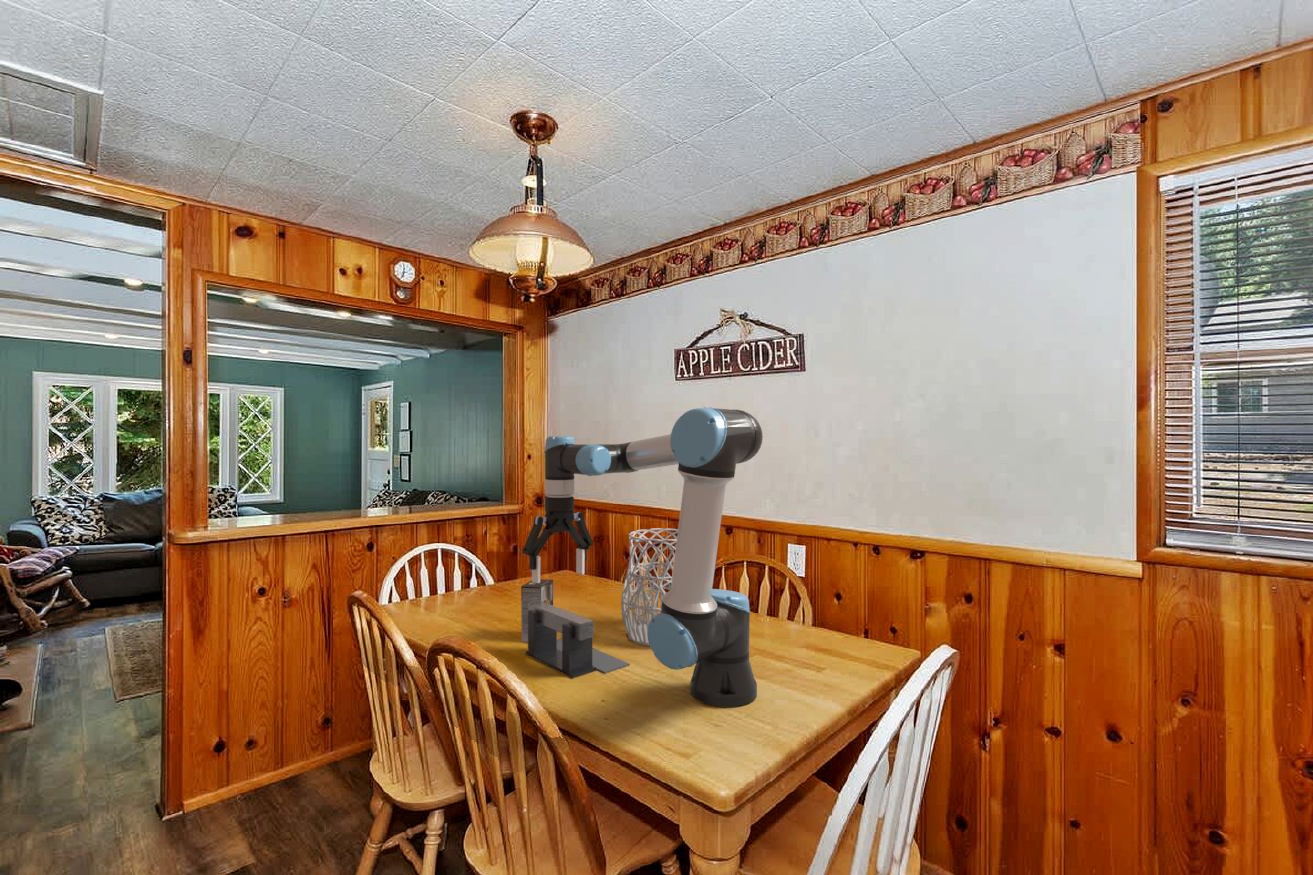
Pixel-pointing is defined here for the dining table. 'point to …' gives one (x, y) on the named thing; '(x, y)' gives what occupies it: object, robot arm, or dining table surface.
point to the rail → (563, 620)
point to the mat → (601, 660)
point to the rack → (544, 649)
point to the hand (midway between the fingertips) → (558, 577)
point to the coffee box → (534, 600)
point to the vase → (631, 623)
